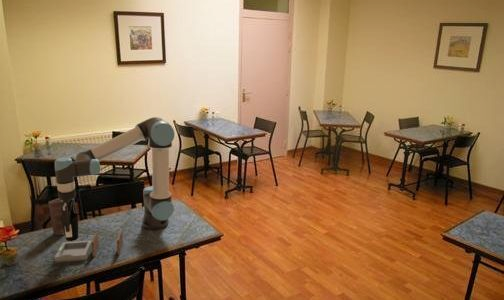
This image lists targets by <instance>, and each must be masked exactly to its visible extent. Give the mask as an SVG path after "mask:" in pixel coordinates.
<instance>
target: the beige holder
mask: <svg viewBox="0 0 504 300" xmlns="http://www.w3.org/2000/svg"><path fill="white" fill-rule="evenodd" d="M116 238H117V239H116V245H117V246H116V248H117V255H121V253H122V249H123V246H124V241H123V231H122V230H119V232H118V236H117V237H116ZM91 245H92V247H91V251H92V253H91V254H92V257H96V255H97V252H98V249H99V247H100V241H99V234H98V232H95V233H94V235H93V237H92V242H91Z"/></svg>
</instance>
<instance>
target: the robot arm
mask: <svg viewBox="0 0 504 300" xmlns="http://www.w3.org/2000/svg"><path fill="white" fill-rule="evenodd" d="M175 135H176V134H175V129H174V127H173V126H172V125H171V124H170V123H169V122H167V121H166V120H164V119H163V118H161V117H156V116H155V117H151V118H150V117H149V118H148V119H145V120H143V121H141V122H139V123H137V124H135V127H133V128H132V129H129V130H127V131H125V132H123V133H121V134H119V135H117V136H115V137H113V138H110V139H109V140H107V141H104V142H102V143H100V144H98V145H97V146H95V147H92V148H90V149H88V150H81V151H79V152H78V153H77V154H76V155H75V160H74V161H73V159H72V158H71V157H58V158H56V159H55V160H54V173H55V181H56V183H55V186H56V187H57V196H58V198H59V199H61V200H63V203H62V205H63V206H61V210H62V223H63V225H62V226H65V234H66V237H72V229H71V224H70V213H76V214H78V213H77V206H76V202H75V198H76V193H77V192H76V184H75V183H76V182H75V179H74V178H79V177H86V176H94V175H99V174H100V173H101V164H100V162H101V161H102V160H104V159H106V158H109V157H110V156H112V155H114V154H116V153H119V152H121V151H123V150H124V149H127V148H128V147H131V146H133V145H135V144H136V143H139V142H140V141H147V140H148V147H149V148H150V149H151V160H152V161H151V162H152V163H151V164H152V165H151V168H152V173H151V174H152V175H151V177H152V178H151V179H152V181H151V182H152V185H151V186H147V187H144V188H143V191H142V192H143V193H142V195H143V208H144V214H143V217H142V219H141V226H142V228H144V229H146V230H150V231H151V230H152V231H153V230H154V231H155V230H156V231H157V230H161V229H164V228H165V227H167V226H168V225H169V218H171V217H172V216H173V214H174V212H175V206H174V204H173V202H172V201H173V198H172V192H171V191H170V149H171V148H172V147H173V141H174V140H175ZM65 234H64V235H65ZM66 237H65V238H66Z"/></svg>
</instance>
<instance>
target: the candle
mask: <svg viewBox="0 0 504 300" xmlns="http://www.w3.org/2000/svg"><path fill="white" fill-rule="evenodd" d="M62 203H63V200H61V199H59V198H55V199H53V200H50V201H48V208H49V215H50V221H51V227H52V232H53V234H54V235H61V236H62V235H65V233H64V229H63V226H62V221H61V217H62V210H61V206H63V205H62Z"/></svg>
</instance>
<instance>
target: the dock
mask: <svg viewBox="0 0 504 300" xmlns="http://www.w3.org/2000/svg"><path fill="white" fill-rule="evenodd" d="M91 242H92V240H77V241H76V240H74V241H63V242H62V243H61V245H60V247H59V249H58V250H57V252H56V254H55V256H54V263H55V264H57V263H68V262H69V263H70V262H71V263H72V262H81V261H82V262H83V261H87V259H88V256H89V254H90V252H91V251H92V245H91Z"/></svg>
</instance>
